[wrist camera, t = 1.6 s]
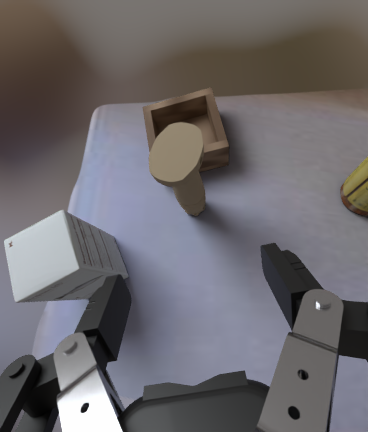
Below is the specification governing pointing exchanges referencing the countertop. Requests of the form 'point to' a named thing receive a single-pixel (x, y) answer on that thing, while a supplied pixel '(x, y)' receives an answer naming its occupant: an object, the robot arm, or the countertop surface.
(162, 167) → the handle
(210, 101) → the open wooden box
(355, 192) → the sauce bottle
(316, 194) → the countertop surface
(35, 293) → the supplement box
